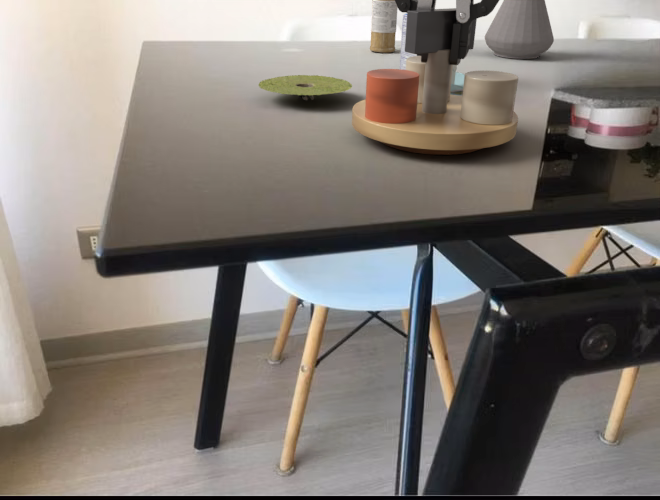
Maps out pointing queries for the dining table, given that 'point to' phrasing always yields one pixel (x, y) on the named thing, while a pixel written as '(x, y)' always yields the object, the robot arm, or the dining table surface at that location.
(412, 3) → the robot arm
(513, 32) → the grey faceted vase
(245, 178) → the dining table surface
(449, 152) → the holder base
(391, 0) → the sprinkles bottle
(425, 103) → the wooden lazy susan
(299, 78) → the green flat disc
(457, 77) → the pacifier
